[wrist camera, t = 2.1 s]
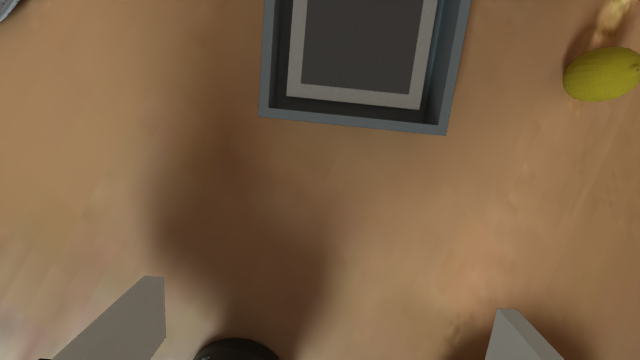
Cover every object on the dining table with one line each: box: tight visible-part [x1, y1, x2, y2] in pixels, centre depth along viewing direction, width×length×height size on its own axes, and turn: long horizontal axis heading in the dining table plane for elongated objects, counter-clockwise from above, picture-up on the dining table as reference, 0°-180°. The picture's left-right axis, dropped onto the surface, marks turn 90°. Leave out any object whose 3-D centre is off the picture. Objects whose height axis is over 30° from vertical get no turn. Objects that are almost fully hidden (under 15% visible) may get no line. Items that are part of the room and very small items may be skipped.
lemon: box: [563, 47, 640, 102], centre depth 32 cm, size 6×6×8 cm
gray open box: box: [258, 0, 471, 136], centre depth 32 cm, size 20×20×7 cm
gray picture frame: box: [286, 0, 438, 110], centre depth 32 cm, size 15×15×1 cm
